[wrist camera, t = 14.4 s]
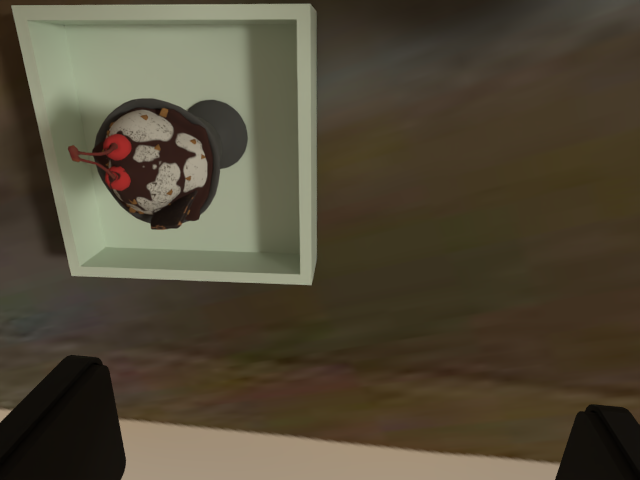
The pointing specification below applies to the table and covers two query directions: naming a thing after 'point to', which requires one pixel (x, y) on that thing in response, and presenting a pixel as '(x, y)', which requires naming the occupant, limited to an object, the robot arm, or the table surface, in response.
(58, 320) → the table surface
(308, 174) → the box
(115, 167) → the sundae
